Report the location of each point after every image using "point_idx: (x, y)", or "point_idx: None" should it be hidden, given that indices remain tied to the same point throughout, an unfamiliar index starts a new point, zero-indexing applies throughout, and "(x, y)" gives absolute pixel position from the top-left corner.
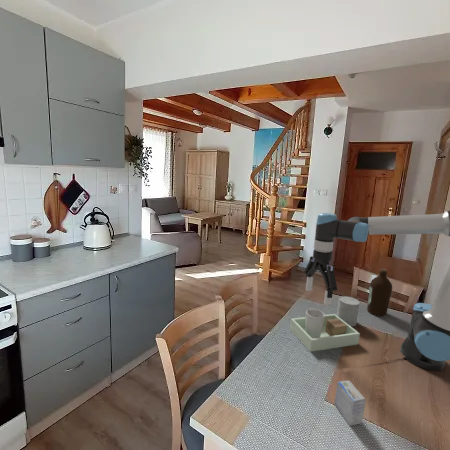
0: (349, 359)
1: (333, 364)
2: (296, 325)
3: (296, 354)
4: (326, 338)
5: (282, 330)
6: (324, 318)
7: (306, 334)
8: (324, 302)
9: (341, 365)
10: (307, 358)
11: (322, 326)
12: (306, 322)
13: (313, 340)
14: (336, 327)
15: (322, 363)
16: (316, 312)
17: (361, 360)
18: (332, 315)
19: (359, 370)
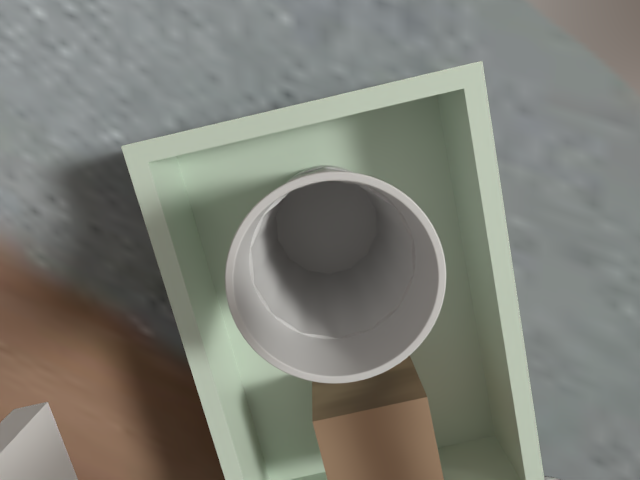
0: (119, 379)
1: (57, 259)
2: (371, 87)
3: (136, 30)
4: (166, 287)
5: (449, 5)
6: (505, 395)
7: (207, 129)
8: (11, 428)
9: (54, 305)
10: (99, 101)
11: (475, 352)
12: (329, 170)
13: (128, 164)
14: (315, 429)
15: (57, 189)
16: (412, 316)
17: (117, 445)
18: (524, 475)
19: (22, 391)
